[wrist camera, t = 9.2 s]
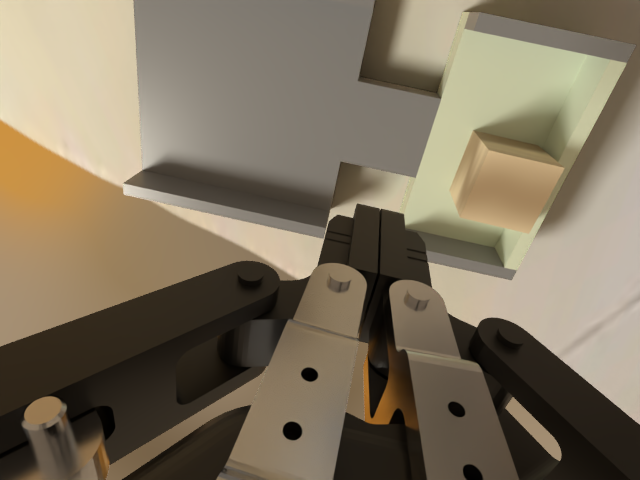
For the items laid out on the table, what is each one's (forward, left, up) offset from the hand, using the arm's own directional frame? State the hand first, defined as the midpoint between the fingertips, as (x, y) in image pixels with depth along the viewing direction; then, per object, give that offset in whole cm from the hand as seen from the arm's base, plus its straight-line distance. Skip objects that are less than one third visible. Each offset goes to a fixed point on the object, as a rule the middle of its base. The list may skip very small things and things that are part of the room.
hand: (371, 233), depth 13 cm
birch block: (+1, +8, -14) cm, 16 cm away
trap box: (0, -2, -16) cm, 16 cm away
